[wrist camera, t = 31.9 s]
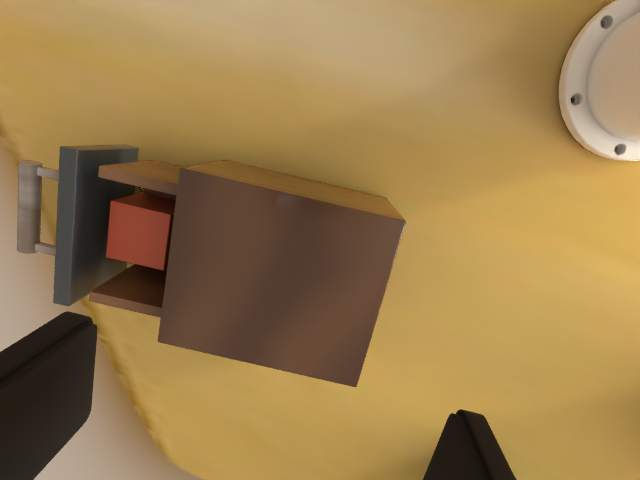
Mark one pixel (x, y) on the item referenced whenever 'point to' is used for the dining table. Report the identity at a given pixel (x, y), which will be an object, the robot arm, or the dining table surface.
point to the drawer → (93, 223)
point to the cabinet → (277, 269)
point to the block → (141, 230)
